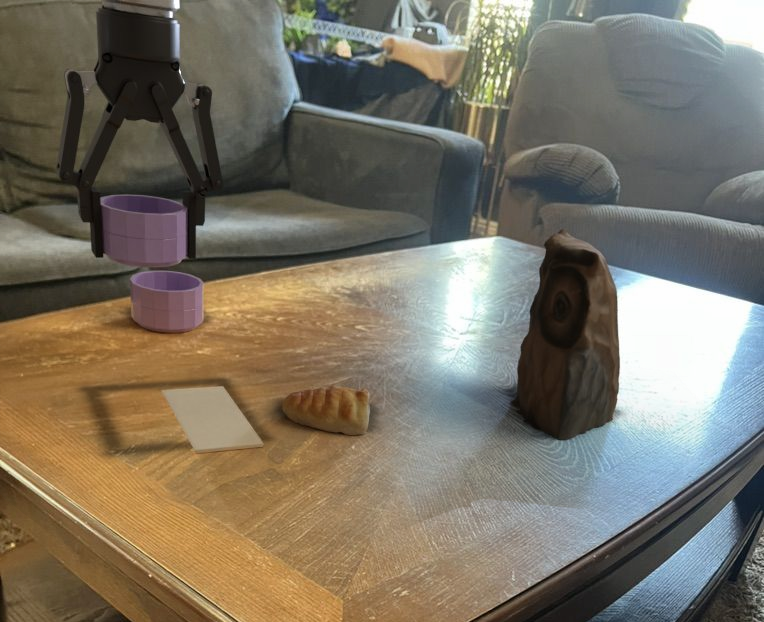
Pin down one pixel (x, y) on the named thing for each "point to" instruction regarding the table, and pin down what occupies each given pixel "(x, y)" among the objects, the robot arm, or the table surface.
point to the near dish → (144, 230)
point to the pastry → (330, 409)
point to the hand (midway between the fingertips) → (144, 254)
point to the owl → (570, 343)
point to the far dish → (167, 301)
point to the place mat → (211, 419)
